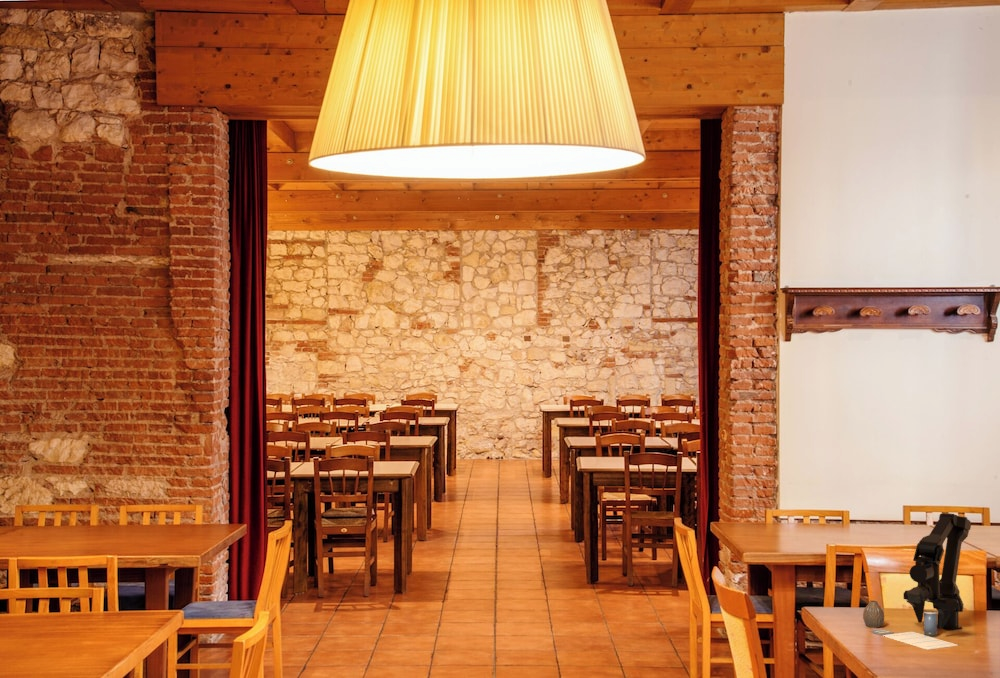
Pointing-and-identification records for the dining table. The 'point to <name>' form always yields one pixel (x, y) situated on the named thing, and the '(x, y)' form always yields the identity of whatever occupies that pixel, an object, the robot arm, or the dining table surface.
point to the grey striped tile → (882, 632)
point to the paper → (920, 640)
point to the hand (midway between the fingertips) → (930, 625)
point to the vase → (873, 615)
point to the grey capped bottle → (930, 623)
